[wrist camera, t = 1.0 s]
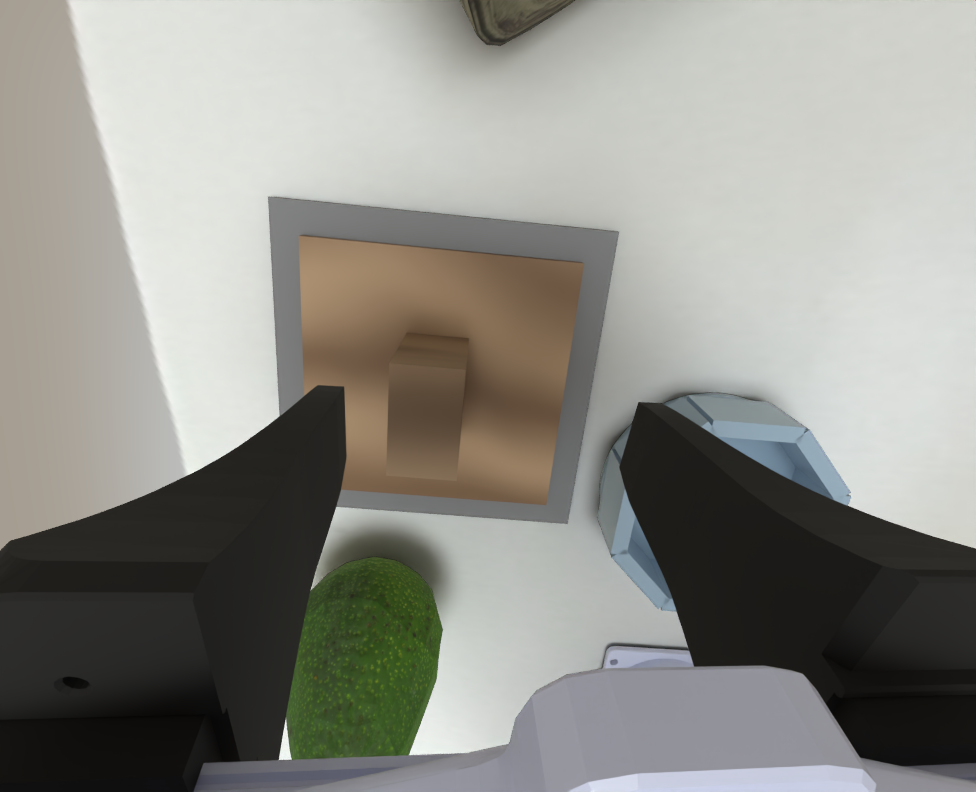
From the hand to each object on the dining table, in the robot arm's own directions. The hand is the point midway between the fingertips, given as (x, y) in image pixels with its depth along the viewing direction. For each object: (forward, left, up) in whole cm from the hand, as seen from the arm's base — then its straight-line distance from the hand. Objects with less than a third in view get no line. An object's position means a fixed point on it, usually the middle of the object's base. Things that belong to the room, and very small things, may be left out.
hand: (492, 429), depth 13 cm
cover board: (-4, +2, -13) cm, 14 cm away
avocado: (-17, +5, -14) cm, 22 cm away
